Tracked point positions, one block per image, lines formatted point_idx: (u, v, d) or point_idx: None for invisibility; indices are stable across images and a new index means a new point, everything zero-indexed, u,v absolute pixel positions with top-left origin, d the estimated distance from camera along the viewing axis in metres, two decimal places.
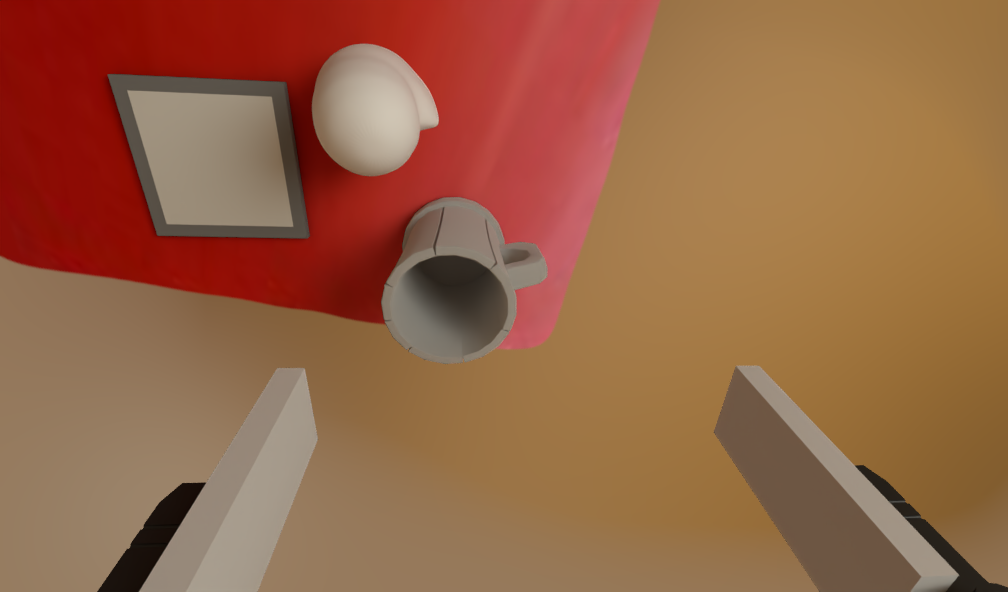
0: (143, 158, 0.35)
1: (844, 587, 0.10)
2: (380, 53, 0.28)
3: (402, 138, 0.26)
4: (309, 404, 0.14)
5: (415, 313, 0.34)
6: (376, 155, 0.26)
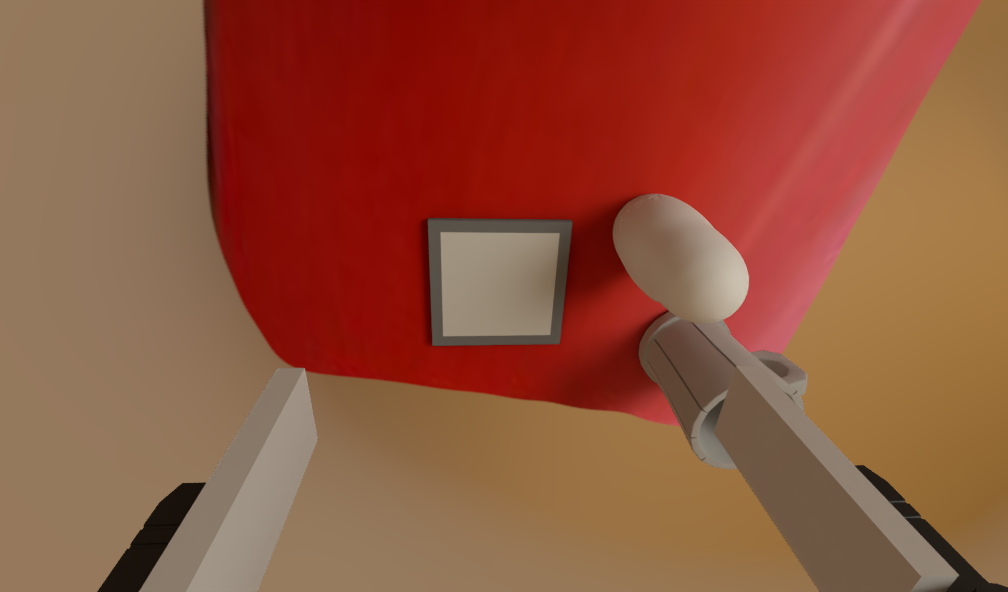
0: (438, 285, 0.40)
1: (844, 587, 0.10)
2: (699, 216, 0.33)
3: (744, 298, 0.31)
4: (309, 404, 0.14)
5: None
6: (726, 314, 0.31)
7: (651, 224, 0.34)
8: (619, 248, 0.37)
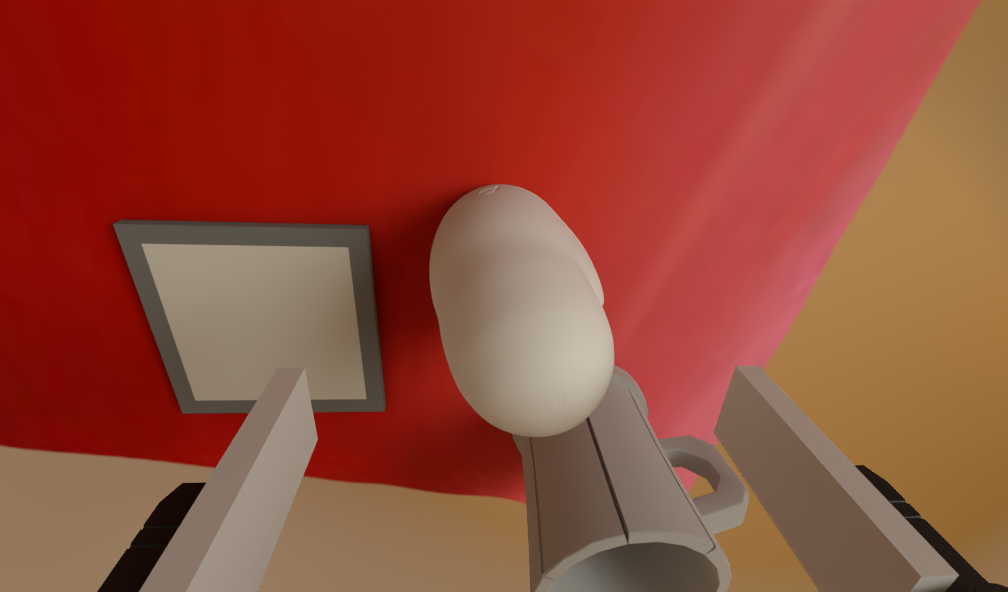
0: (164, 326, 0.25)
1: (844, 587, 0.10)
2: (542, 228, 0.18)
3: (601, 396, 0.16)
4: (309, 404, 0.14)
5: None
6: (561, 428, 0.16)
7: (454, 242, 0.18)
8: None
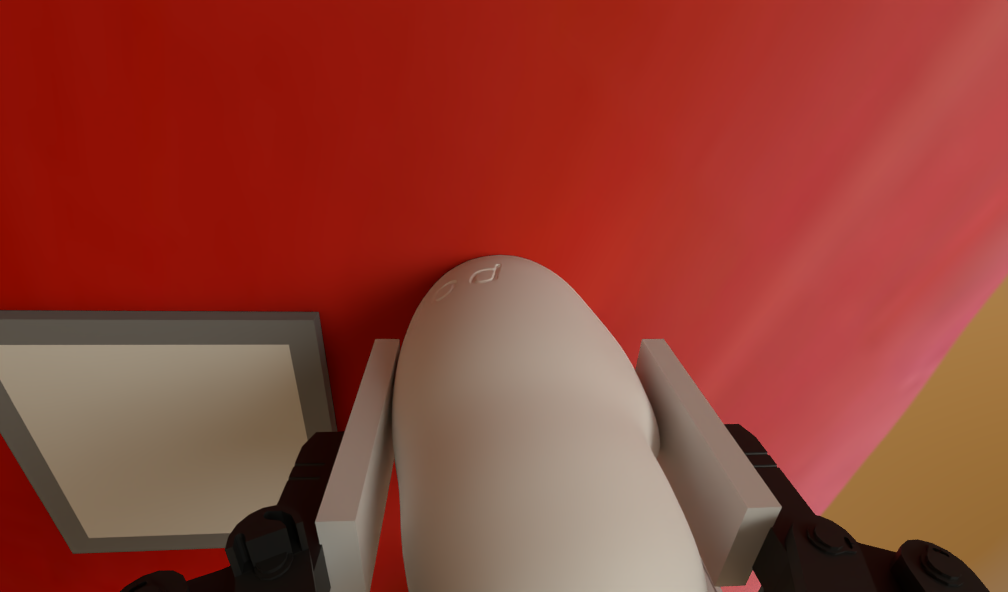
0: (32, 450, 0.18)
1: (704, 527, 0.11)
2: (573, 357, 0.11)
3: None
4: None
5: None
6: None
7: (427, 379, 0.11)
8: None
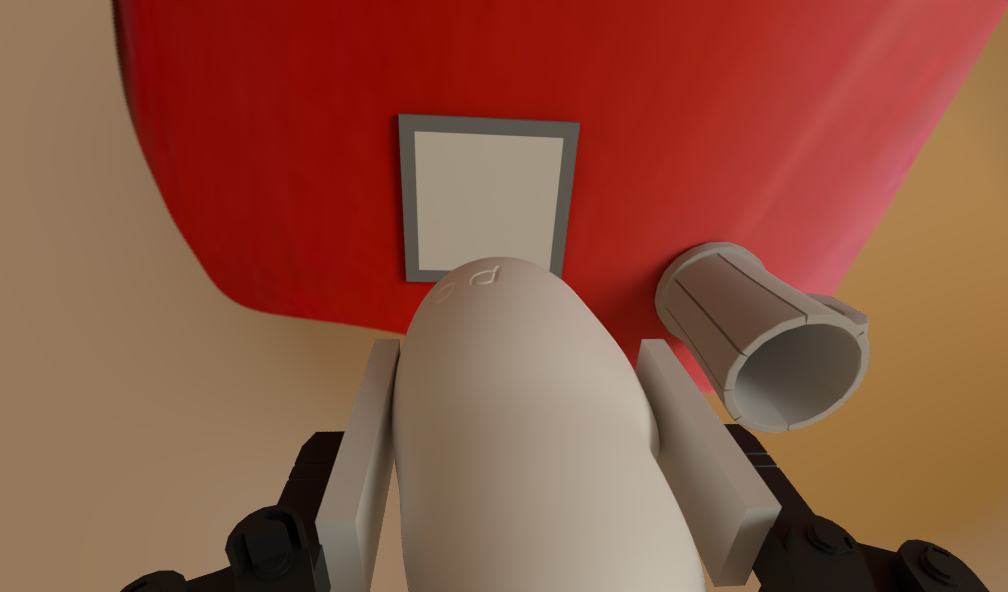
0: (413, 202, 0.32)
1: (704, 527, 0.11)
2: (573, 359, 0.11)
3: None
4: None
5: None
6: None
7: (427, 381, 0.11)
8: None
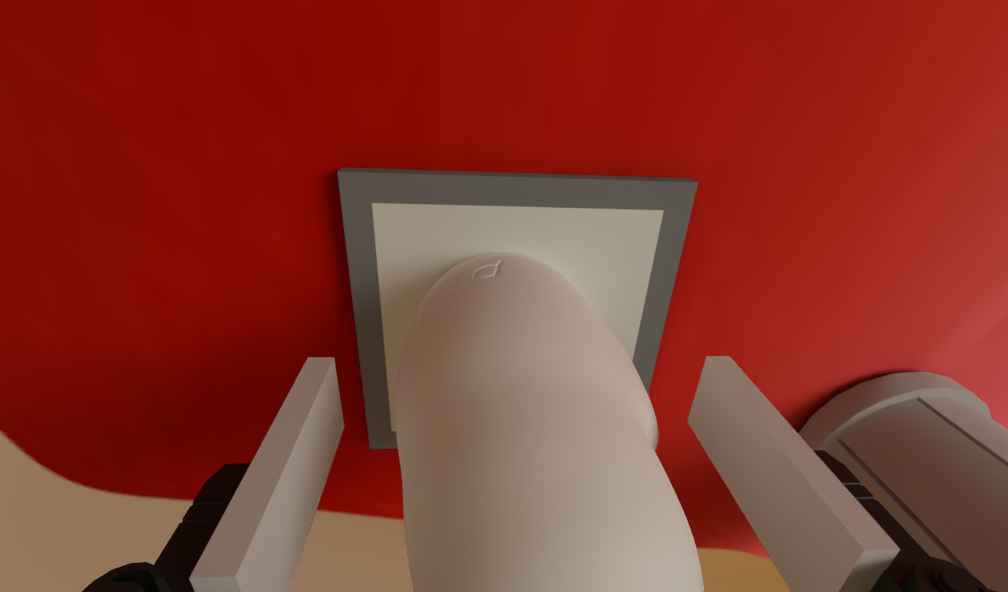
0: (375, 327, 0.17)
1: (799, 565, 0.10)
2: (572, 349, 0.11)
3: None
4: (337, 393, 0.14)
5: None
6: None
7: (430, 369, 0.11)
8: None
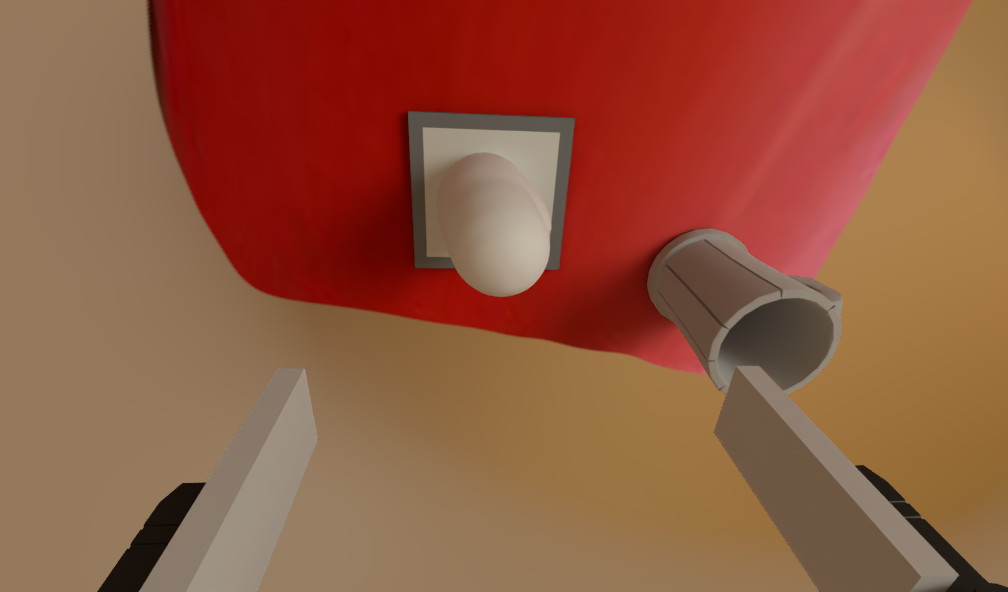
0: (421, 193, 0.35)
1: (844, 587, 0.10)
2: (507, 173, 0.29)
3: (540, 267, 0.27)
4: (309, 404, 0.14)
5: None
6: (516, 285, 0.26)
7: (453, 182, 0.29)
8: None
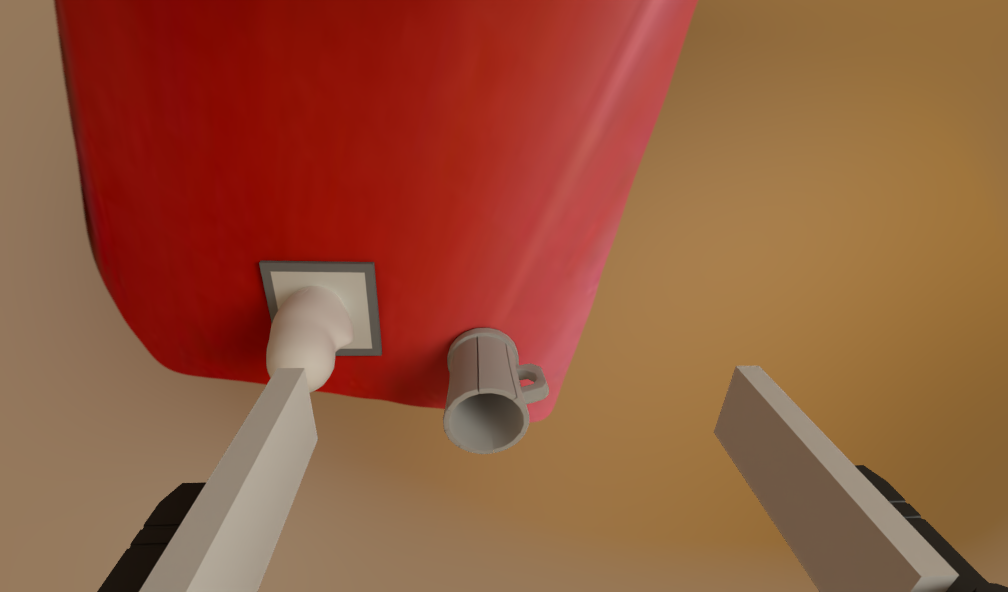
0: (275, 310, 0.52)
1: (844, 587, 0.10)
2: (310, 313, 0.46)
3: (319, 378, 0.43)
4: (309, 404, 0.14)
5: (460, 417, 0.51)
6: None
7: (276, 318, 0.46)
8: None
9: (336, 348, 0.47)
